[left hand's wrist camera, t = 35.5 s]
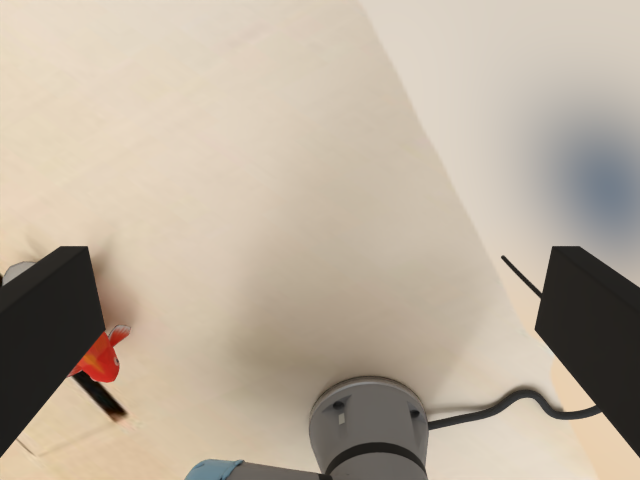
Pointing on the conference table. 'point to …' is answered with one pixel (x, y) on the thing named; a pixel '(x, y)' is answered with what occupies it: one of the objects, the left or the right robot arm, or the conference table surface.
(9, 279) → the fish
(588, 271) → the left robot arm
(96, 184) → the conference table surface
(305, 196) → the conference table surface
